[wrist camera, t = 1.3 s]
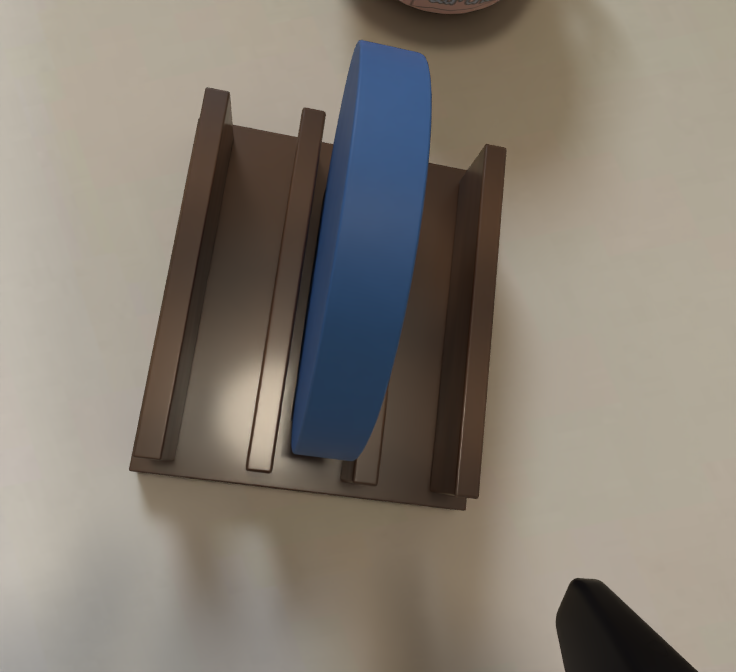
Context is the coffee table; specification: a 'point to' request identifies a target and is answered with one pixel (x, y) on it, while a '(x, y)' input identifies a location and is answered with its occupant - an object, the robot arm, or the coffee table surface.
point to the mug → (449, 5)
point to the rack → (287, 317)
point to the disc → (363, 251)
